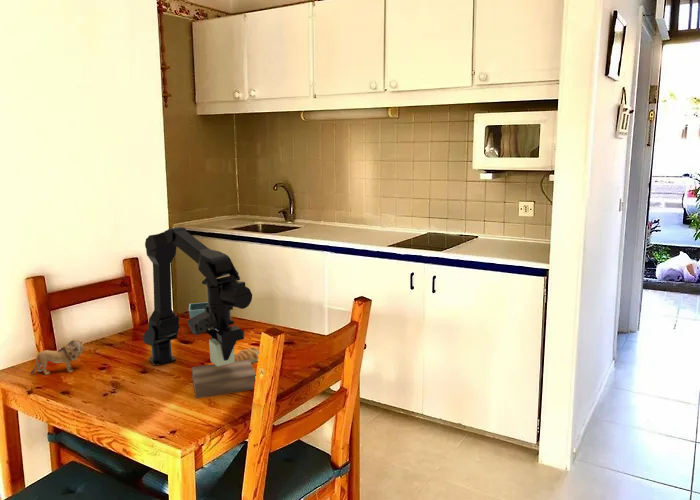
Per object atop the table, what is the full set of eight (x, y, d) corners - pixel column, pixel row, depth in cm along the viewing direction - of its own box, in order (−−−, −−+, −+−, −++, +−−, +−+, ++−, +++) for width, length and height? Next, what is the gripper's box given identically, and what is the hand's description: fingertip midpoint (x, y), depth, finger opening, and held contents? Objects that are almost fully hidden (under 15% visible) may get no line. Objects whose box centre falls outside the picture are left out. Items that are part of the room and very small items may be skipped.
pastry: (237, 370, 172) (236, 357, 171) (224, 364, 177) (223, 352, 176) (263, 361, 178) (262, 349, 178) (250, 355, 183) (249, 343, 182)
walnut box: (192, 382, 165) (191, 367, 164) (249, 373, 170) (249, 359, 169) (196, 399, 153) (195, 383, 153) (257, 390, 158) (256, 375, 158)
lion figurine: (85, 364, 178) (82, 335, 176) (85, 370, 173) (82, 341, 171) (31, 372, 172) (27, 343, 171) (29, 378, 168) (25, 349, 166)
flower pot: (190, 327, 210) (189, 303, 208) (216, 325, 212) (214, 301, 210) (190, 335, 202) (188, 310, 200) (216, 333, 204) (215, 308, 202)
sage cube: (210, 360, 161) (209, 339, 160) (227, 356, 163) (226, 336, 162) (216, 366, 157) (215, 345, 156) (234, 362, 159) (233, 341, 158)
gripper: (178, 299, 160) (182, 353, 163) (201, 316, 145) (205, 375, 148) (217, 292, 166) (220, 344, 169) (243, 308, 151) (246, 365, 154)
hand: (222, 357), depth 160 cm, fingers closed on sage cube, 5 cm apart
